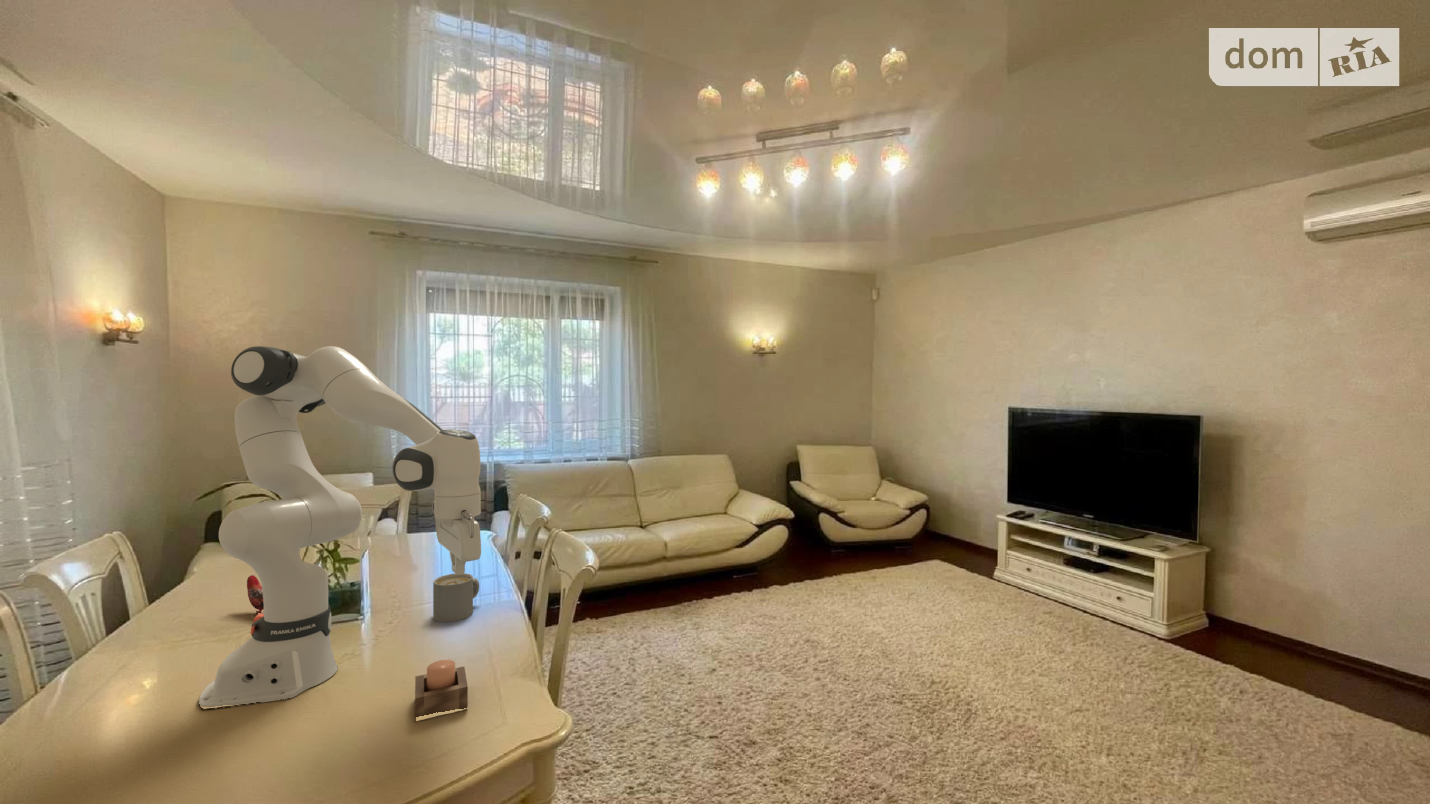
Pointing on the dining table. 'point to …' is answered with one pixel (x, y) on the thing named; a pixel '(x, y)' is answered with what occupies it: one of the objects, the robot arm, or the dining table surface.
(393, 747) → the dining table surface
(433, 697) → the button box
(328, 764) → the dining table surface
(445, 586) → the coffee mug
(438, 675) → the push button
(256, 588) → the decorative bird figurine
